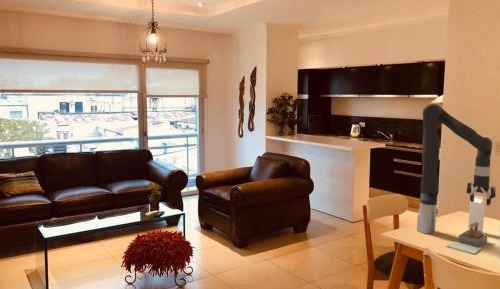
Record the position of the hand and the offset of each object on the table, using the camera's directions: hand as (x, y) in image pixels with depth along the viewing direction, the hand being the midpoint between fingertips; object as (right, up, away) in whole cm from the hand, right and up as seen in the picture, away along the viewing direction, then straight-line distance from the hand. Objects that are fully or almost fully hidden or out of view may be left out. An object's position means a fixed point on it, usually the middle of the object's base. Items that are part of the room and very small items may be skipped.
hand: (480, 203), depth 225 cm
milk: (+7, -20, +18) cm, 28 cm away
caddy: (-3, -22, +3) cm, 22 cm away
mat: (-12, -23, -6) cm, 27 cm away
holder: (-3, -22, +3) cm, 22 cm away
